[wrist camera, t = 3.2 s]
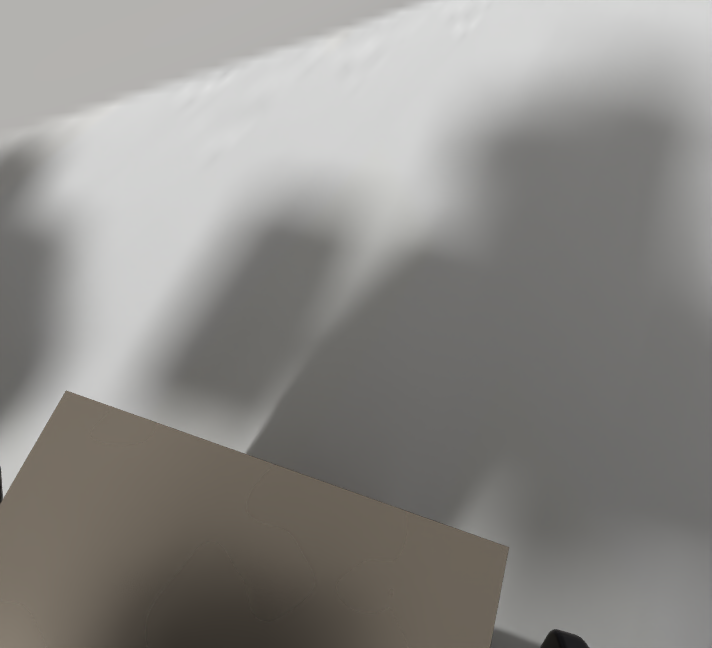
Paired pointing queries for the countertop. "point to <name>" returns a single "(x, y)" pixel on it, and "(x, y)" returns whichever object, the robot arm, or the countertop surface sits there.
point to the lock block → (220, 550)
